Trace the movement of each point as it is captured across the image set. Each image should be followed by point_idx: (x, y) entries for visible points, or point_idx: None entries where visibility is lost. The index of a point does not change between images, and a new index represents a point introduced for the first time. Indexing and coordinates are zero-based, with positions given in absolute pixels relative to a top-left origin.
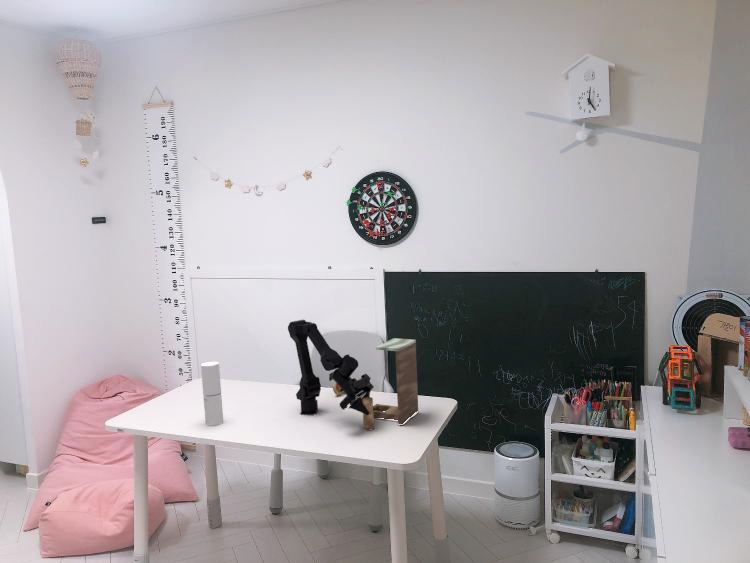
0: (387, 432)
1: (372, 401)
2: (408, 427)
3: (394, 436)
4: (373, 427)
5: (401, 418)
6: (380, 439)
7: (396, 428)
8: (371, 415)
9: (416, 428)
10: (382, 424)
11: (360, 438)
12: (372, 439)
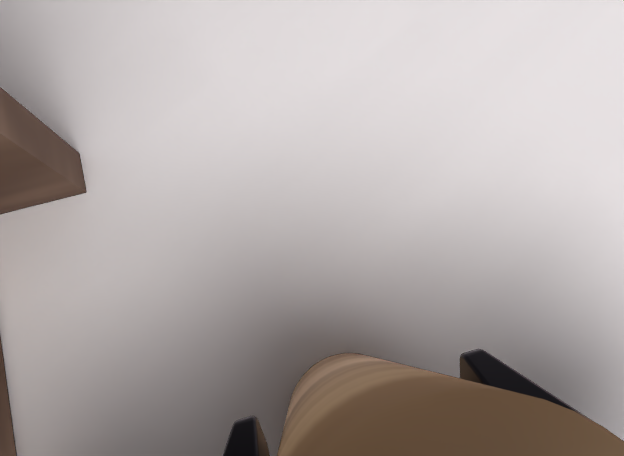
0: (307, 163)
1: (359, 402)
2: (69, 82)
3: (344, 44)
4: (331, 356)
5: (31, 114)
6: (489, 99)
7: (162, 161)
8: (385, 361)
9: (51, 7)
10: (149, 376)
11: (616, 279)
12: (544, 160)
